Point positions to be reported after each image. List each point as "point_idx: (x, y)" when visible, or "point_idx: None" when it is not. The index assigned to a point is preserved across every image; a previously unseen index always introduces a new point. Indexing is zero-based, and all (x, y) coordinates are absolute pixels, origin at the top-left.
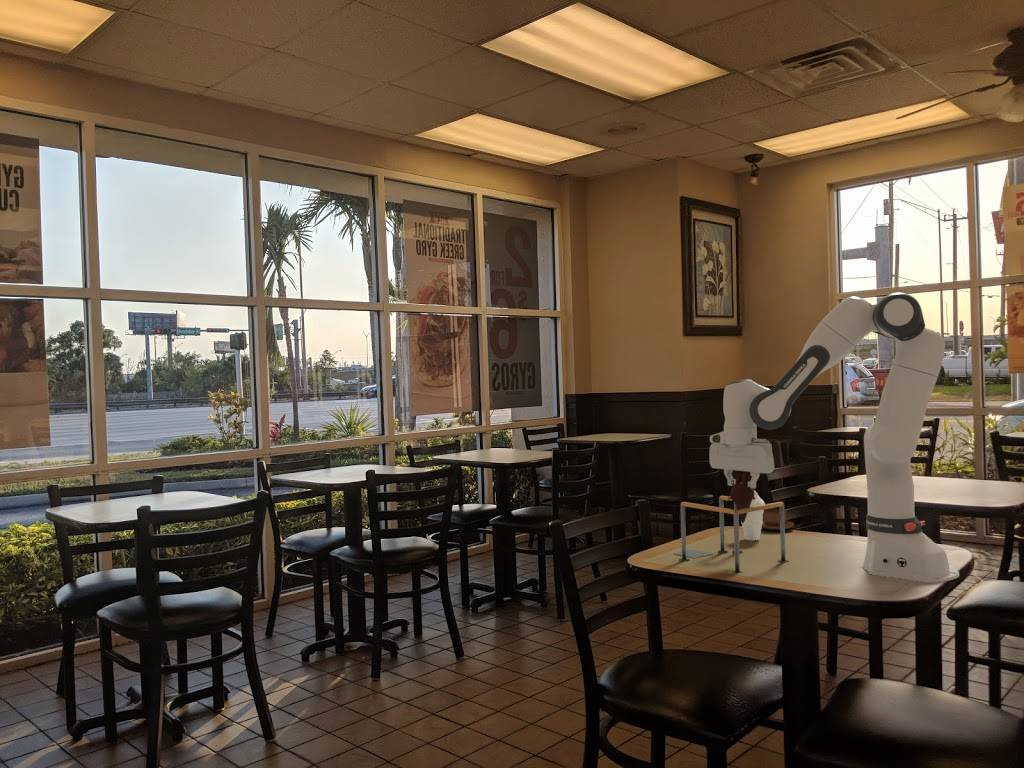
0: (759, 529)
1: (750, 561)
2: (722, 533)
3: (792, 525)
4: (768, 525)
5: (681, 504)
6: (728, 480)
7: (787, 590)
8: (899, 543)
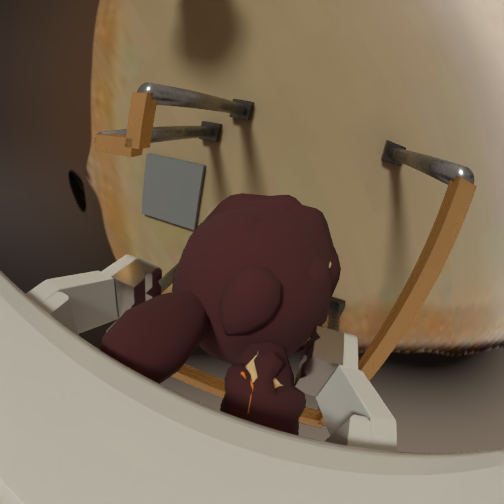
0: None
1: (312, 173)
2: (188, 136)
3: None
4: None
5: None
6: (118, 311)
7: (434, 351)
8: None
